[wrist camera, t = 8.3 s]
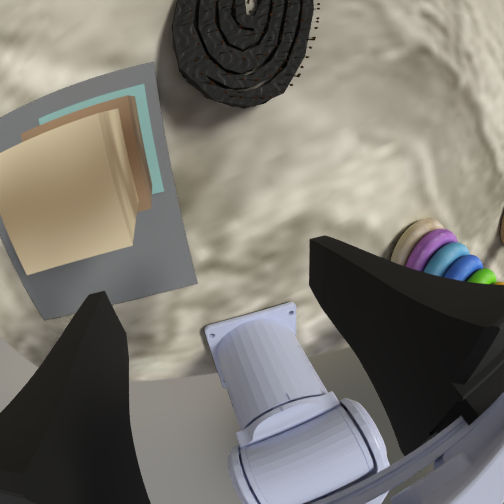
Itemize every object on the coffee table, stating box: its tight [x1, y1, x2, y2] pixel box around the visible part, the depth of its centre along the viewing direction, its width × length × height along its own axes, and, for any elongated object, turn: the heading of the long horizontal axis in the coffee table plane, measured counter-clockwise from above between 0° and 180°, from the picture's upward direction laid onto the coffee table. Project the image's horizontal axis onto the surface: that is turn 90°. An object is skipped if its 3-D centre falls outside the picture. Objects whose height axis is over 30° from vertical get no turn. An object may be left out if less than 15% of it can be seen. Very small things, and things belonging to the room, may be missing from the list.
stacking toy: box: [391, 219, 504, 285], centre depth 20 cm, size 8×8×19 cm
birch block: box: [0, 109, 139, 275], centre depth 9 cm, size 4×4×4 cm
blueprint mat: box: [0, 62, 198, 320], centre depth 16 cm, size 15×13×1 cm
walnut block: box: [21, 95, 152, 212], centre depth 13 cm, size 5×5×4 cm
